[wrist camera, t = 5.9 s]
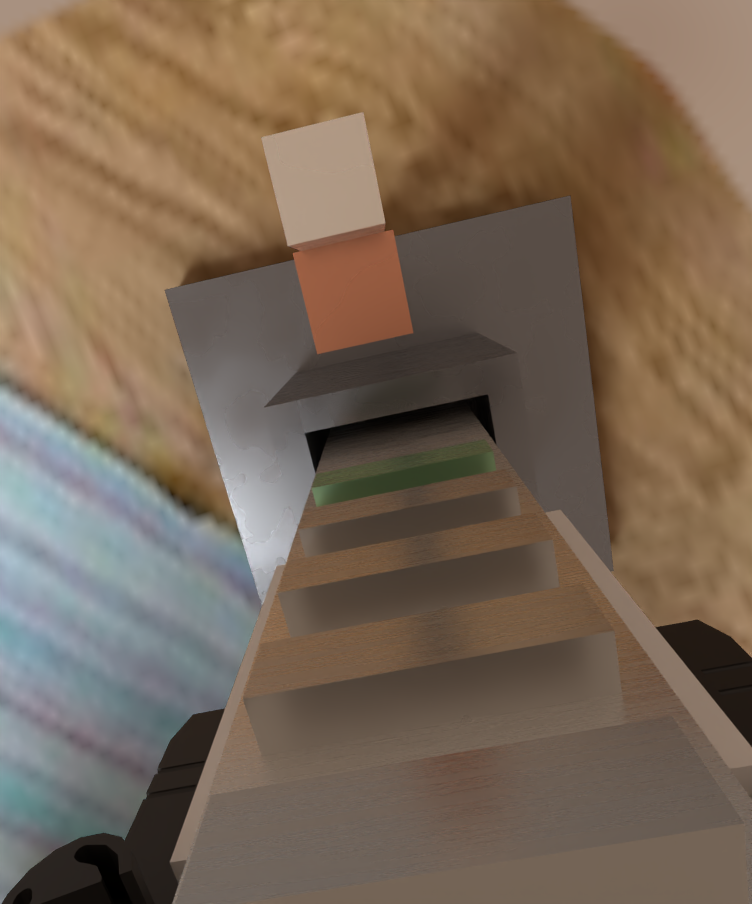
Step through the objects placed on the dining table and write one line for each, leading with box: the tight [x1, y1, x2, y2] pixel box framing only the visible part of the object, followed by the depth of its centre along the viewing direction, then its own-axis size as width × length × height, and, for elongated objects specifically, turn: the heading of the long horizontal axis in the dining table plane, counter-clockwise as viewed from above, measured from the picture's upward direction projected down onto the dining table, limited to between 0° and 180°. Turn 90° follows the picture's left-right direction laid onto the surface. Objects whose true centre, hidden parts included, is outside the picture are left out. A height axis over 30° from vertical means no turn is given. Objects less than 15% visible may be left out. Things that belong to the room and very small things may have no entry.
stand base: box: [165, 112, 614, 605], centre depth 17 cm, size 16×16×19 cm
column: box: [172, 399, 752, 904], centre depth 11 cm, size 4×5×20 cm
